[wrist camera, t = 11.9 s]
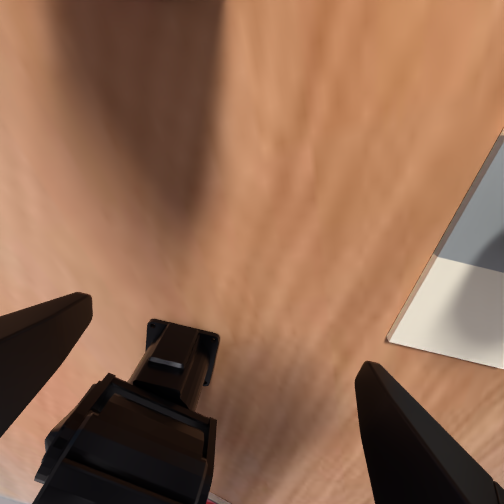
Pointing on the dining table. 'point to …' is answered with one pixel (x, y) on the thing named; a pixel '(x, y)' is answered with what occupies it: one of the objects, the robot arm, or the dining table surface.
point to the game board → (464, 279)
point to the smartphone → (215, 499)
